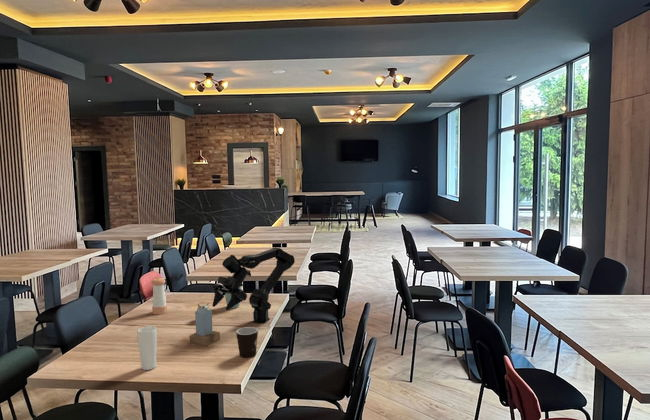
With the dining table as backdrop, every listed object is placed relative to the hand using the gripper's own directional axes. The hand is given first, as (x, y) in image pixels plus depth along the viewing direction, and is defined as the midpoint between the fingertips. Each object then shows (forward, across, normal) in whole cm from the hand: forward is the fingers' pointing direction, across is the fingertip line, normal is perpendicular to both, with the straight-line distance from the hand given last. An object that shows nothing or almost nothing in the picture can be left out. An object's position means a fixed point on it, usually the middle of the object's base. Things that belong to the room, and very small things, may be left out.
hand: (219, 308), depth 198 cm
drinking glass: (+35, +5, -18) cm, 40 cm away
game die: (+3, -24, +15) cm, 29 cm away
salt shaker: (+7, -54, +11) cm, 56 cm away
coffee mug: (+13, +26, +4) cm, 30 cm away
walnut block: (+16, 0, +3) cm, 16 cm away
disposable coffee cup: (-13, -29, +32) cm, 45 cm away
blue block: (+12, 0, 0) cm, 13 cm away
